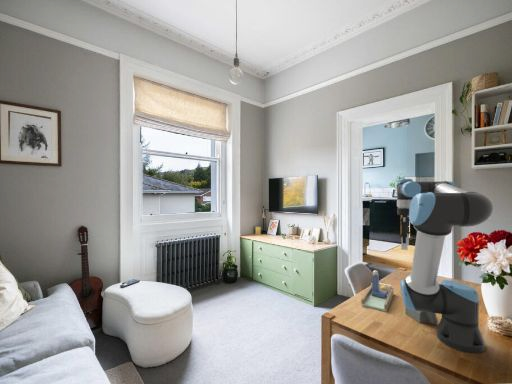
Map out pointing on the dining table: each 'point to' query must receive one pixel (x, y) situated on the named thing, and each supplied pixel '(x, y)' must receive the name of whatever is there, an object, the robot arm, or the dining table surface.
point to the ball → (384, 288)
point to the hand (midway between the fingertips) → (405, 247)
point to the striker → (377, 286)
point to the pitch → (377, 299)
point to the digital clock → (422, 316)
